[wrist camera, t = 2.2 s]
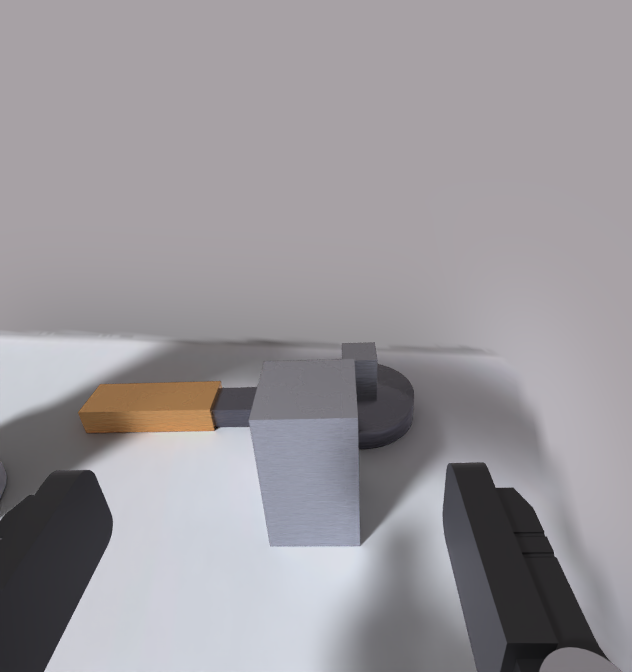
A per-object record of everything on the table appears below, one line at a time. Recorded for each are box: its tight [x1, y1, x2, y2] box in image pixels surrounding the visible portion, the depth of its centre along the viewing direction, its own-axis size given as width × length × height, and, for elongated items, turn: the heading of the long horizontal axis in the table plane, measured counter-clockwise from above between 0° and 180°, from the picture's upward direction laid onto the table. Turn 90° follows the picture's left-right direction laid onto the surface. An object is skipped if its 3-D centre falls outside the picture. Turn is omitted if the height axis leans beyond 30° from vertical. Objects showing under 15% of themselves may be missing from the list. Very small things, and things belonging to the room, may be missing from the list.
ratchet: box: [78, 342, 414, 449], centre depth 34 cm, size 25×8×6 cm, turn 88°
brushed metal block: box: [249, 359, 360, 546], centre depth 25 cm, size 5×5×9 cm
